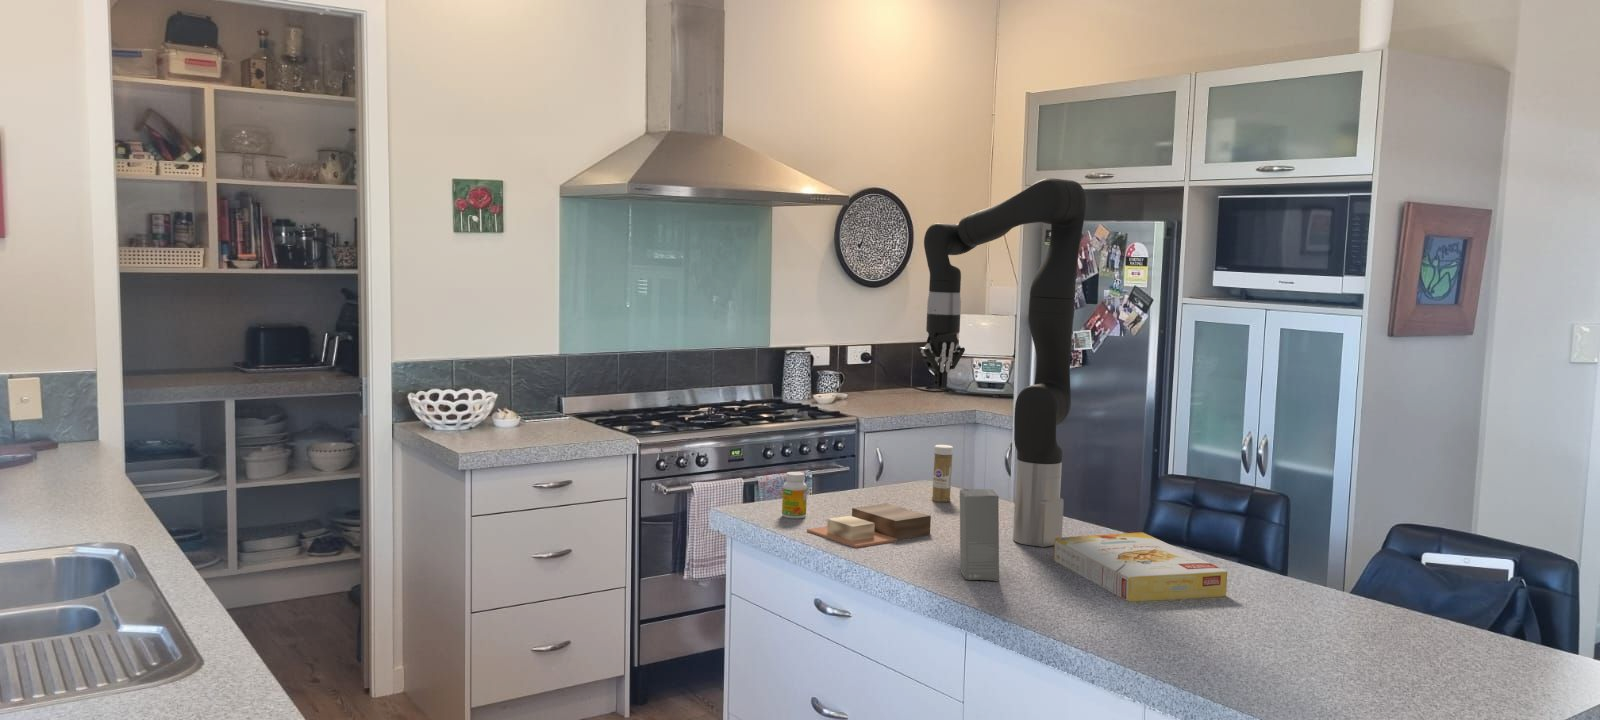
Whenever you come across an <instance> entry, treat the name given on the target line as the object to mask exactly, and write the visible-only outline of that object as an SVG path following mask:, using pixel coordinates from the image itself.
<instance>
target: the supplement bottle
mask: <svg viewBox="0 0 1600 720" xmlns="http://www.w3.org/2000/svg"><path fill="white" fill-rule="evenodd" d="M785 474H786V482H783V485H782V502H781V505H782V506H781V515H782V517H783V518H787V519H793V520H794V519H798V520H799V519H804V518H806V515H807V500H808V496H807V495H808V486H807V484H806V483H805V482H804V480H805V473H804V472H801V471H788V472H786V473H785Z"/></svg>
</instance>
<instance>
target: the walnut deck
mask: <svg viewBox="0 0 1600 720" xmlns="http://www.w3.org/2000/svg"><path fill="white" fill-rule="evenodd" d="M851 516H852V517H856V518H859V519H862V520H866V521H869V522H873V523H875V529H874V532H876V533H880V534H883V535H886V536H889V537H892V538H896V539H897V540H903V539H909V538H916V537H922V536H926V535H927V536H928V535H931V524H932V523H931V521H932V515H929V514H926V513H922V512H919V511H915V510H912V509H910V508H909V509H907V508H905V507H901V506H897V505H894V504H891V503H887V502H886V503H881V504H873V505H872V504H871V505H866V506H865V505H863V506H857V507H852V508H851Z"/></svg>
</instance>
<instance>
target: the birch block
mask: <svg viewBox="0 0 1600 720" xmlns="http://www.w3.org/2000/svg"><path fill="white" fill-rule="evenodd" d="M874 529H875V523H873V522H869V521H866V520H862V519H859V518H856V517H852V515H845V516H839V517H838V516H837V517H831V518H827V533H829V534H832V535H835V536H838V537H841V538H844V539H848V540H851V541H855V540H861V539H868V538H874Z"/></svg>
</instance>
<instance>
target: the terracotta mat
mask: <svg viewBox="0 0 1600 720" xmlns="http://www.w3.org/2000/svg"><path fill="white" fill-rule="evenodd" d="M806 532H808V533H810V534H813V535H817V536H819V537H822V538H825V539H828V540H832V541H834V542H837V543H840V544H843V545H846V546H848V547H849V546H850V547H853V548H855V549H859V548H864V547H865V548H866V547H870V546H877V545H882V544H888V543H894V542H897V539H896V538H892V537H889V536H886V535H883V534H880V533H876V532H874V538H868V539H861V540H855V541H851V540H848V539H844V538H841V537H838V536H835V535H832V534H829V533H827V526H826V525H825V526H820V527H813V528H807V529H806Z"/></svg>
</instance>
